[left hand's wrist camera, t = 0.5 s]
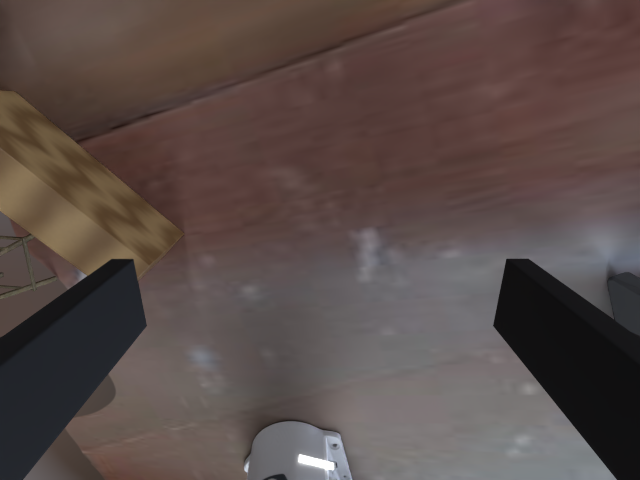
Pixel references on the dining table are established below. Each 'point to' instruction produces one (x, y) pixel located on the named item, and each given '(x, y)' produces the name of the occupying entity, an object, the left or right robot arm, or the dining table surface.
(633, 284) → the handheld gaming console
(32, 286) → the miniature windmill
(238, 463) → the dining table surface
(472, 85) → the dining table surface
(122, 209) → the box
